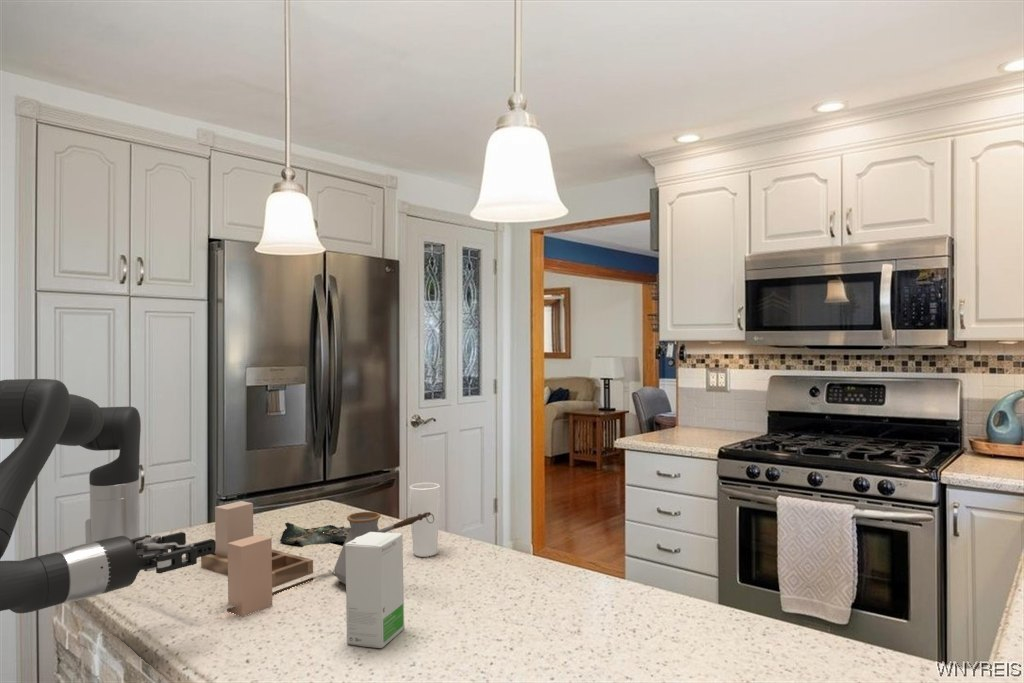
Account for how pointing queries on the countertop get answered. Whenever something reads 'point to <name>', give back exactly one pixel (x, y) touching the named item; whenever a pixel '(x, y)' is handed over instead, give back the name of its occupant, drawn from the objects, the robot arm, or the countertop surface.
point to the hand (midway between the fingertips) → (199, 541)
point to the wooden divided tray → (282, 567)
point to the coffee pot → (366, 524)
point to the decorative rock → (313, 535)
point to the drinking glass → (423, 532)
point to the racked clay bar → (232, 525)
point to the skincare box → (374, 589)
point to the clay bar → (250, 574)
